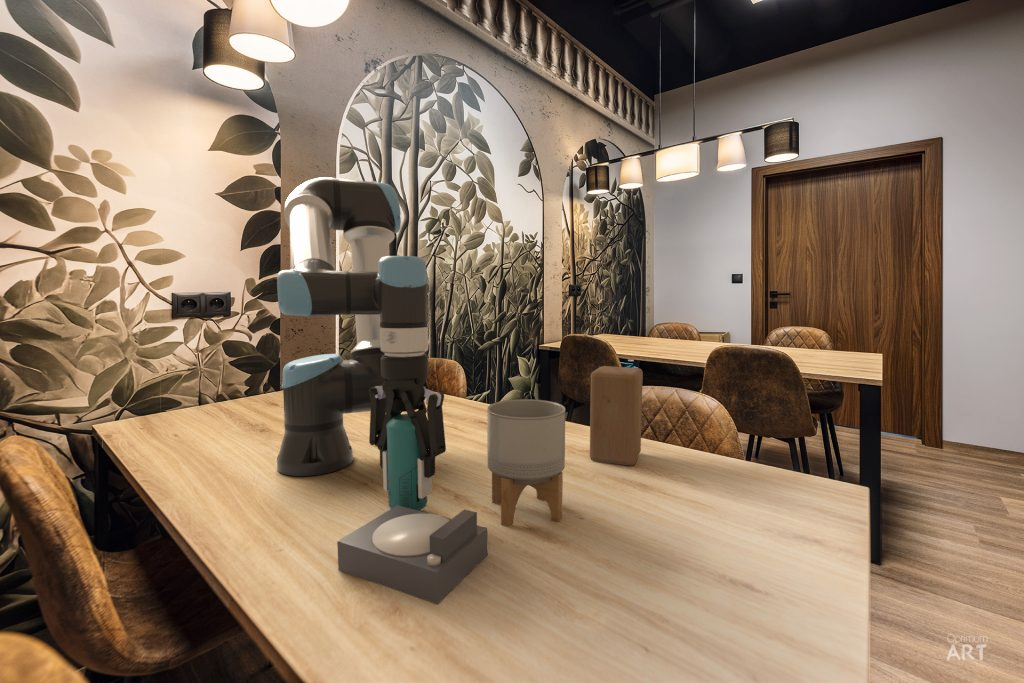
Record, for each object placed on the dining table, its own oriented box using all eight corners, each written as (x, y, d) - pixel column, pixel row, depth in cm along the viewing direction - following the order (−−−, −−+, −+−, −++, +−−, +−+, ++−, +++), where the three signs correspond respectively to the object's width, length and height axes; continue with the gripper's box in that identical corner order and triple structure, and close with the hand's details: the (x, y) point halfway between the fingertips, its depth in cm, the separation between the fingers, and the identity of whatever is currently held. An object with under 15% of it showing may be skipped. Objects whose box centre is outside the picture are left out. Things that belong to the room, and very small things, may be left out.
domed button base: (338, 569, 63) (336, 519, 62) (397, 529, 74) (396, 486, 73) (437, 604, 56) (436, 548, 55) (487, 554, 67) (487, 507, 66)
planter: (541, 537, 72) (542, 422, 70) (472, 516, 78) (471, 410, 77) (576, 505, 83) (578, 404, 81) (513, 489, 89) (513, 396, 88)
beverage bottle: (419, 525, 75) (416, 401, 73) (380, 521, 77) (377, 399, 75) (433, 507, 82) (432, 392, 80) (398, 503, 83) (395, 391, 81)
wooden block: (588, 461, 104) (590, 371, 102) (598, 448, 113) (599, 365, 111) (635, 467, 100) (637, 374, 98) (641, 453, 110) (643, 367, 108)
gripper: (342, 352, 77) (347, 488, 80) (441, 360, 69) (443, 512, 71) (374, 348, 84) (378, 473, 86) (468, 354, 75) (469, 493, 78)
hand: (407, 490), depth 79 cm, fingers closed on beverage bottle, 6 cm apart
